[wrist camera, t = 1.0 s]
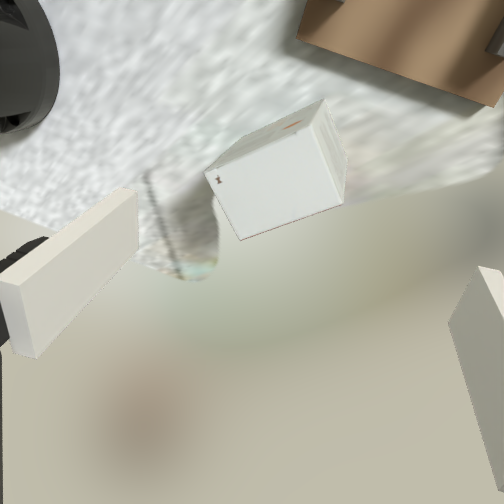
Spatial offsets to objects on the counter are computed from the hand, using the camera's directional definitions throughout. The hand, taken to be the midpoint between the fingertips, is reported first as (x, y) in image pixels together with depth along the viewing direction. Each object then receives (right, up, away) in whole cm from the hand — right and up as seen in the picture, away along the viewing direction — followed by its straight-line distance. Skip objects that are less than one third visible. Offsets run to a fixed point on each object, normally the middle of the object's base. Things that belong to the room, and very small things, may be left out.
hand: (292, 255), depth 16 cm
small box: (+2, +9, +19) cm, 22 cm away
